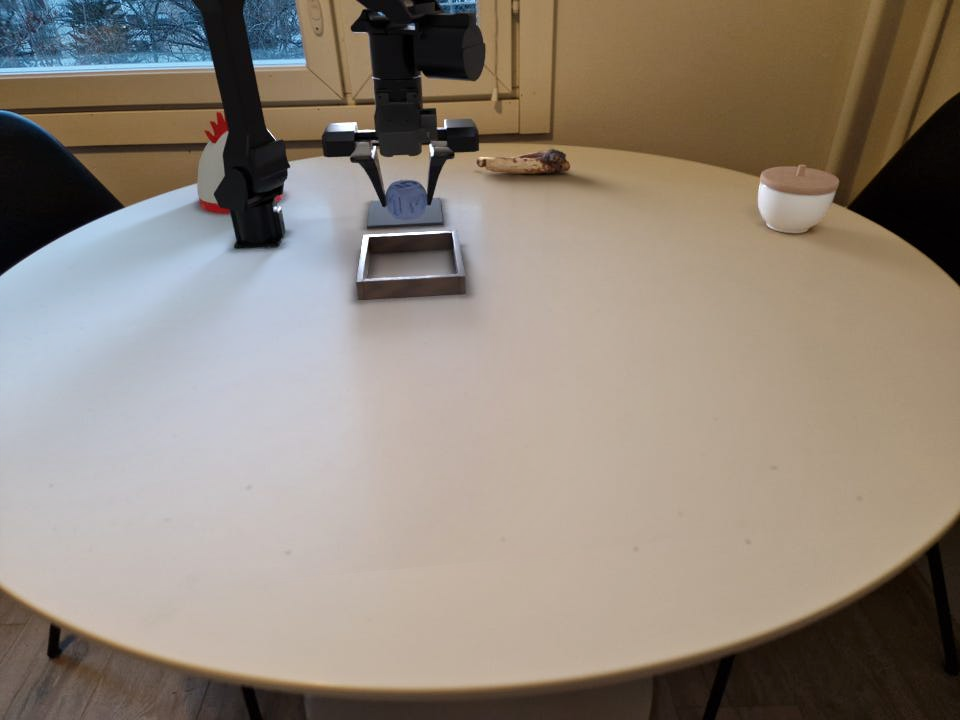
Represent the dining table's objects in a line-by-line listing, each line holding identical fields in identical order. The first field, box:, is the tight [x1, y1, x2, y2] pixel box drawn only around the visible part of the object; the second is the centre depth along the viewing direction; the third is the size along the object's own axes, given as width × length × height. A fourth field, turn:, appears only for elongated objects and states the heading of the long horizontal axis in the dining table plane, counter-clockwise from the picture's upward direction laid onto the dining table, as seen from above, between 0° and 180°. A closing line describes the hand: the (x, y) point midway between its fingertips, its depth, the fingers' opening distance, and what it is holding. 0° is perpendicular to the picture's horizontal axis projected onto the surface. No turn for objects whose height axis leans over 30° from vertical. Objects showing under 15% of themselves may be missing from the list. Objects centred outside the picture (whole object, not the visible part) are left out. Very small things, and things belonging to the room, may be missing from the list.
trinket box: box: [757, 164, 840, 234], centre depth 98 cm, size 11×11×9 cm
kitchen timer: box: [196, 111, 283, 214], centre depth 111 cm, size 14×14×15 cm
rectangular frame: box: [355, 230, 467, 301], centre depth 88 cm, size 14×16×2 cm
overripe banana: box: [476, 148, 571, 175], centre depth 126 cm, size 9×5×18 cm
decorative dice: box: [385, 179, 428, 220], centre depth 84 cm, size 4×4×4 cm
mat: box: [366, 197, 444, 229], centre depth 108 cm, size 12×12×1 cm
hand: (406, 205), depth 84 cm, fingers closed on decorative dice, 5 cm apart
